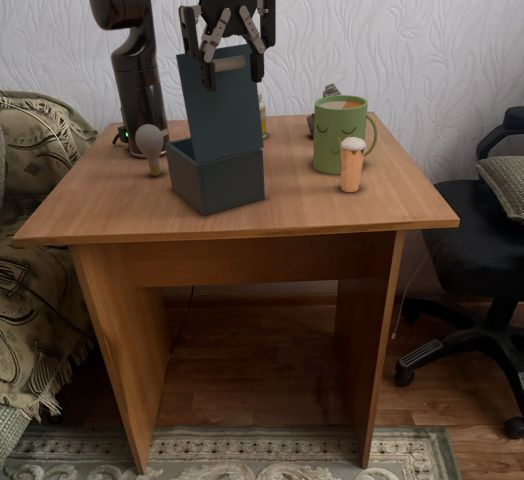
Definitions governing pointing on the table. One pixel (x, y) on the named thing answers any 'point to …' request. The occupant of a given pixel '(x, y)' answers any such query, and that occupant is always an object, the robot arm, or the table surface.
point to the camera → (329, 91)
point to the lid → (222, 105)
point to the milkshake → (351, 162)
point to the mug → (338, 129)
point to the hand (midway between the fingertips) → (234, 86)
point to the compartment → (215, 178)
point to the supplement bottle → (262, 115)
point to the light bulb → (150, 145)
